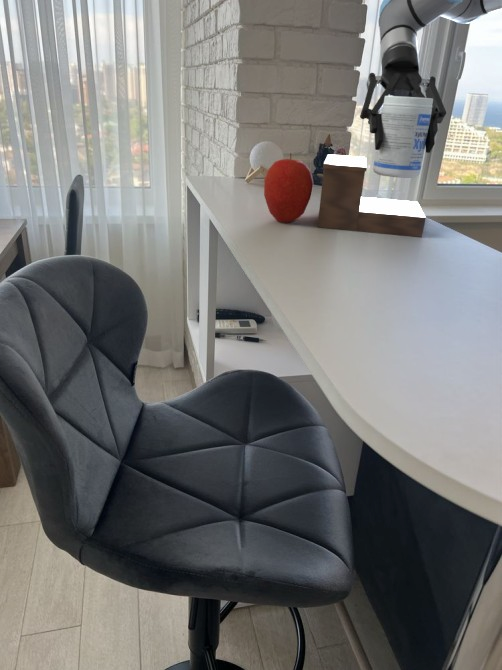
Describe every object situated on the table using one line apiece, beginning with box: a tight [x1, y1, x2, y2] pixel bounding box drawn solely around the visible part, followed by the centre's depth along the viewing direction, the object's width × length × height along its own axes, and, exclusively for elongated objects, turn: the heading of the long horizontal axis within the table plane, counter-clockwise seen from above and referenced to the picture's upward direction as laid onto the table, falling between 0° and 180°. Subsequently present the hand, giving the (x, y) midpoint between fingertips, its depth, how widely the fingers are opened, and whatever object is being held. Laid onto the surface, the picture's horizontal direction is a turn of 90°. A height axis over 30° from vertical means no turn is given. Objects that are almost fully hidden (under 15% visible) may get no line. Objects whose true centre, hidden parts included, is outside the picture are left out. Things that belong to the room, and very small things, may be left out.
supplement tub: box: [372, 96, 433, 179], centre depth 101 cm, size 10×10×15 cm
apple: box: [263, 152, 315, 224], centre depth 105 cm, size 10×10×14 cm
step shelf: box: [317, 154, 427, 238], centre depth 107 cm, size 21×16×13 cm
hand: (404, 146), depth 99 cm, fingers closed on supplement tub, 9 cm apart
